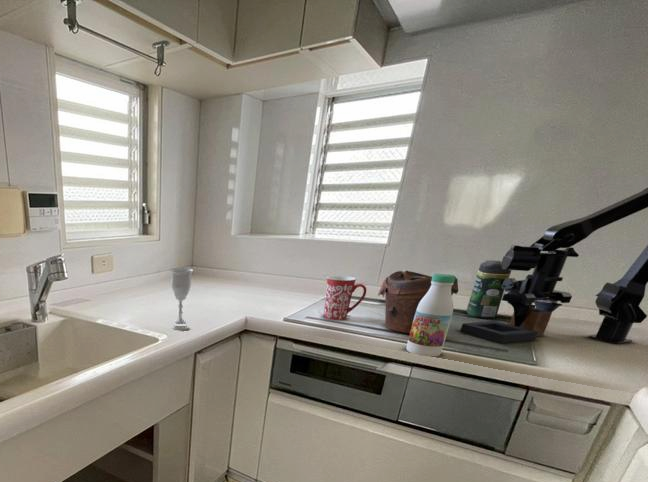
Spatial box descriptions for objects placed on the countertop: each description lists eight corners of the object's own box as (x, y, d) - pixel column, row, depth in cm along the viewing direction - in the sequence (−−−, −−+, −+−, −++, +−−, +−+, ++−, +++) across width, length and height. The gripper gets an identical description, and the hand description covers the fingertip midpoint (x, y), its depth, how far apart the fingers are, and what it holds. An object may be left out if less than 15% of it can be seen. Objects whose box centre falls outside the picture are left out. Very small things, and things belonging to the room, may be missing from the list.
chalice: (165, 325, 130) (166, 268, 123) (183, 323, 132) (185, 267, 125) (175, 331, 123) (177, 272, 116) (194, 329, 126) (197, 270, 119)
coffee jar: (462, 311, 146) (478, 258, 138) (489, 313, 143) (507, 259, 136) (469, 317, 137) (487, 262, 130) (498, 320, 135) (518, 263, 127)
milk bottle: (408, 345, 110) (427, 271, 102) (442, 351, 106) (465, 274, 98) (403, 353, 105) (423, 275, 97) (438, 359, 100) (462, 278, 92)
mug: (319, 318, 137) (325, 278, 132) (321, 313, 144) (328, 274, 139) (360, 323, 132) (368, 281, 126) (360, 317, 139) (368, 277, 134)
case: (380, 318, 138) (392, 264, 131) (450, 329, 125) (468, 270, 118) (363, 328, 126) (375, 270, 119) (438, 342, 113) (457, 277, 106)
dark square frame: (491, 328, 125) (493, 320, 124) (534, 340, 114) (538, 331, 113) (460, 331, 123) (462, 323, 122) (501, 343, 112) (504, 335, 111)
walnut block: (519, 329, 124) (528, 305, 121) (543, 335, 118) (553, 310, 115) (506, 331, 123) (515, 306, 120) (530, 337, 117) (540, 311, 114)
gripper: (538, 268, 123) (519, 318, 129) (492, 268, 118) (474, 320, 124) (583, 273, 113) (560, 327, 119) (534, 274, 108) (513, 330, 114)
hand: (525, 325), depth 119 cm, fingers open, 6 cm apart
